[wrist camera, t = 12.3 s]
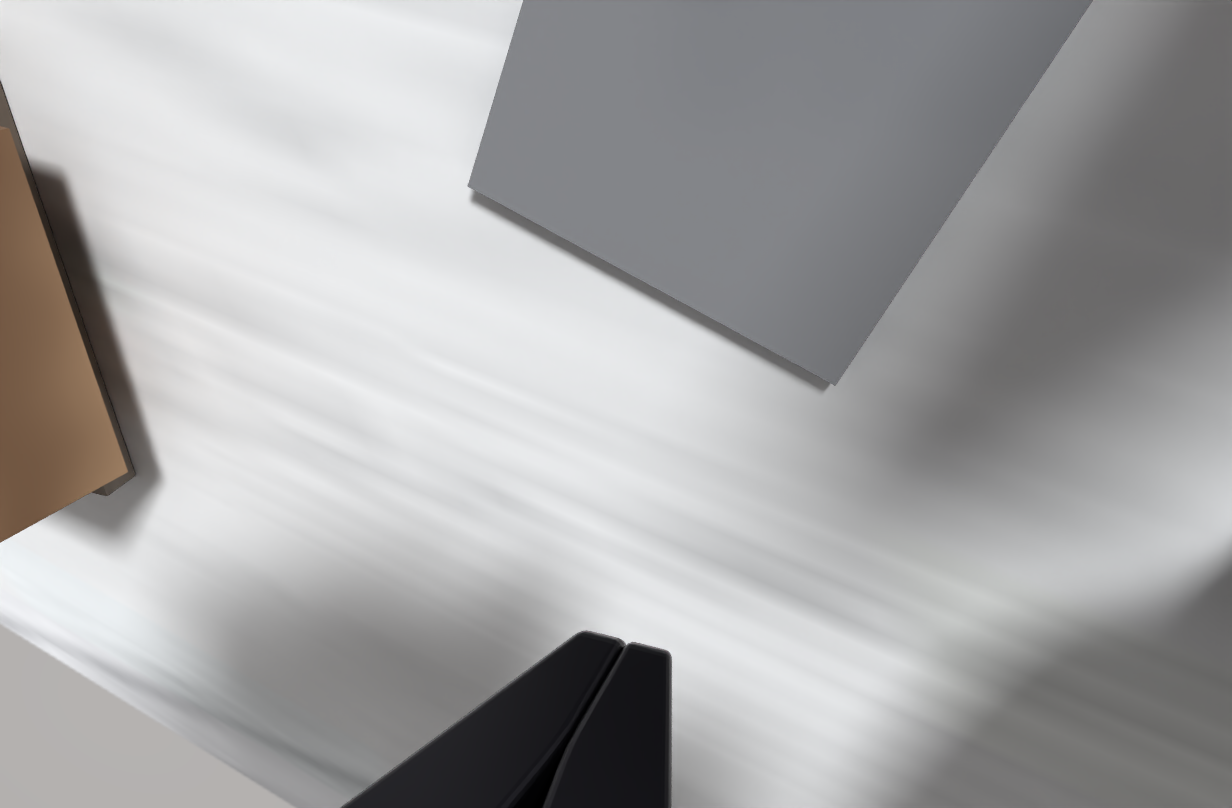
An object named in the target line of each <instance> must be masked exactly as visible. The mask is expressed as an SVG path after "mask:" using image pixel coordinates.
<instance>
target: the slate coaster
mask: <svg viewBox="0 0 1232 808" xmlns="http://www.w3.org/2000/svg"><path fill="white" fill-rule="evenodd" d="M1092 1H1093V0H523V3H522V7H521V10H520V13H519V17H518V20H517V23H516V27H515V30H514V33H513V37H512V40H511V43H510V47H509V50H508V53H507V57H506V60H505V63H504V67H503V70H502V73H501V77H500V80H499V83H498V87H497V90H496V93H495V97H494V100H493V103H492V107H491V110H490V113H489V117H488V120H487V124H486V127H485V130H484V134H483V137H482V140H481V144H480V147H479V150H478V154H477V157H476V160H475V164H474V167H473V170H472V174H471V177H470V180H469V184H468V187H470V188H471V189H473V190H475V191H477V192H479V193H481V194H482V195H484V196H486V197H488V198H490V199H492V200H494V201H495V202H497V203H499V204H501V205H503V206H505V207H506V208H508V209H510V210H512V211H514V212H516V213H518V214H519V215H521V216H523V217H525V218H527V219H529V220H530V221H532V222H534V223H536V224H538V225H540V226H541V227H543V228H545V229H547V230H549V231H551V232H553V233H554V234H556V235H558V236H560V237H562V238H564V239H565V240H567V241H569V242H571V243H573V244H575V245H576V246H578V247H580V248H582V249H584V250H586V251H588V252H589V253H591V254H593V255H595V256H597V257H599V258H600V259H602V260H604V261H606V262H608V263H610V264H612V265H613V266H615V267H617V268H619V269H621V270H623V271H624V272H626V273H628V274H630V275H632V276H634V277H635V278H637V279H639V280H641V281H643V282H645V283H647V284H648V285H650V286H652V287H654V288H656V289H658V290H659V291H661V292H663V293H665V294H667V295H669V296H671V297H672V298H674V299H676V300H678V301H680V302H682V303H683V304H685V305H687V306H689V307H691V308H693V309H694V310H696V311H698V312H700V313H702V314H704V315H706V316H707V317H709V318H711V319H713V320H715V321H717V322H718V323H720V324H722V325H724V326H726V327H728V328H730V329H731V330H733V331H735V332H737V333H739V334H741V335H742V336H744V337H746V338H748V339H750V340H752V341H753V342H755V343H757V344H759V345H761V346H763V347H765V348H766V349H768V350H770V351H772V352H774V353H776V354H777V355H779V356H781V357H783V358H785V359H787V360H789V361H790V362H792V363H794V364H796V365H798V366H800V367H801V368H803V369H805V370H807V371H809V372H811V373H812V374H814V375H816V376H818V377H820V378H822V379H824V380H825V381H827V382H829V383H831V384H833V385H836V384H837V383H838V381H839V380H840V378H841V377H842V375H843V374H844V372H845V371H846V369H847V368H848V366H849V365H850V363H851V362H852V360H853V359H854V357H855V356H856V354H857V353H858V351H859V350H860V348H861V347H862V345H863V344H864V342H865V341H866V339H867V338H868V336H869V335H870V333H871V332H872V330H873V329H874V327H875V326H876V324H877V323H878V321H879V320H880V318H881V317H882V315H883V314H884V312H885V311H886V309H887V308H888V306H889V305H890V303H891V302H892V300H893V299H894V297H895V296H896V294H897V293H898V291H899V290H900V288H901V287H902V285H903V284H904V282H905V281H906V279H907V278H908V276H909V275H910V273H911V272H912V270H913V269H914V267H915V266H916V264H917V263H918V261H919V260H920V258H921V257H922V255H923V254H924V252H925V251H926V249H927V248H928V246H929V245H930V243H931V242H932V240H933V239H934V237H935V236H936V234H937V233H938V231H939V230H940V228H941V227H942V225H943V224H944V222H945V221H946V219H947V218H948V216H949V215H950V213H951V212H952V210H953V209H954V207H955V206H956V204H957V203H958V201H959V200H960V198H961V197H962V195H963V194H964V192H965V191H966V189H967V188H968V186H969V185H970V183H971V182H972V180H973V179H974V177H975V176H976V174H977V173H978V171H979V170H980V168H981V167H982V165H983V164H984V162H985V161H986V159H987V158H988V156H989V155H990V153H991V152H992V150H993V149H994V147H995V146H996V144H997V143H998V141H999V140H1000V138H1001V137H1002V136H1003V134H1004V133H1005V131H1006V130H1007V128H1008V127H1009V125H1010V124H1011V122H1012V121H1013V119H1014V118H1015V116H1016V115H1017V113H1018V112H1019V110H1020V109H1021V107H1022V106H1023V104H1024V103H1025V101H1026V100H1027V98H1028V97H1029V95H1030V94H1031V92H1032V91H1033V89H1034V88H1035V86H1036V85H1037V83H1038V82H1039V80H1040V79H1041V77H1042V76H1043V74H1044V73H1045V71H1046V70H1047V68H1048V67H1049V65H1050V64H1051V62H1052V61H1053V59H1054V58H1055V56H1056V55H1057V53H1058V52H1059V50H1060V49H1061V47H1062V46H1063V44H1064V43H1065V41H1066V40H1067V38H1068V37H1069V35H1070V34H1071V32H1072V31H1073V29H1074V28H1075V26H1076V25H1077V23H1078V22H1079V20H1080V19H1081V17H1082V16H1083V14H1084V13H1085V11H1086V10H1087V8H1088V7H1089V5H1090V4H1091V2H1092Z"/></svg>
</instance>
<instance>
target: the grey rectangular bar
mask: <svg viewBox="0 0 1232 808" xmlns="http://www.w3.org/2000/svg"><path fill="white" fill-rule="evenodd" d="M0 126H1V127H6V128H9V129H10V132H11V135H12V138H13V141H14V144H15V147H16V149H17V152H18V155H19V158H20V161H21V164H22V167H23V170H24V173H25V175H26V178H27V181H28V184H29V187H30V190H31V193H32V196H33V199H34V201H35V204H36V207H37V210H38V213H39V216H40V219H41V222H42V225H43V227H44V230H45V233H46V236H47V239H48V242H49V245H50V248H51V251H52V253H53V256H54V259H55V262H56V265H57V268H58V271H59V274H60V277H61V279H62V282H63V285H64V288H65V291H66V294H67V297H68V300H69V303H70V305H71V308H72V311H73V314H74V317H75V320H76V323H77V326H78V329H79V332H80V334H81V337H82V340H83V343H84V346H85V349H86V352H87V355H88V358H89V360H90V363H91V366H92V369H93V372H94V375H95V378H96V381H97V384H98V386H99V389H100V392H101V395H102V398H103V401H104V404H105V407H106V410H107V412H108V415H109V418H110V421H111V424H112V427H113V430H114V433H115V436H116V438H117V441H118V444H119V447H120V450H121V453H122V456H123V459H124V462H125V464H126V467H127V470H128V472H127V473H125V474H123V475H122V476H120V477H118V478H116V479H114V480H113V481H111V482H109V483H107V484H105V485H104V486H102V487H100V488H98V489H96V490H95V491H93V492H92V493H96V494H100V495H104V496H108V495H110V494H111V493H112V492H114V491H115V490H116V489H118V488H119V487H121V486H122V485H123V484H125V483H126V482H127V481H129V480H130V479H132V478H133V477H134V476H136V475H135V472H134V469H133V466H132V464H131V461H130V458H129V455H128V452H127V449H126V446H125V443H124V440H123V437H122V434H121V432H120V429H119V426H118V423H117V420H116V417H115V414H114V411H113V408H112V405H111V403H110V400H109V397H108V394H107V391H106V388H105V385H104V382H103V379H102V376H101V373H100V371H99V368H98V365H97V362H96V359H95V356H94V353H93V350H92V347H91V344H90V342H89V339H88V336H87V333H86V330H85V327H84V324H83V321H82V318H81V315H80V313H79V310H78V307H77V304H76V301H75V298H74V295H73V292H72V289H71V286H70V283H69V281H68V278H67V275H66V272H65V269H64V266H63V263H62V260H61V257H60V254H59V252H58V249H57V246H56V243H55V240H54V237H53V234H52V231H51V228H50V225H49V223H48V220H47V217H46V214H45V211H44V208H43V205H42V202H41V199H40V196H39V193H38V191H37V188H36V185H35V182H34V179H33V176H32V173H31V170H30V167H29V164H28V162H27V159H26V156H25V153H24V150H23V147H22V144H21V141H20V138H19V135H18V133H17V130H16V127H15V124H14V121H13V118H12V115H11V112H10V109H9V106H8V103H7V101H6V98H5V95H4V92H3V89H2V86H1V83H0Z"/></svg>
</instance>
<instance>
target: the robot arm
mask: <svg viewBox="0 0 1232 808" xmlns="http://www.w3.org/2000/svg"><path fill="white" fill-rule="evenodd" d="M671 790H672V657H671V654H670V653H669V652H668V651H667V650H664V649H660V648H656V647H652V646H648V645H644V644H640V643H636V642H631V643H628V644H627V645H626V644H625V642H624V641H623V640H621V639H619V638H616V637H612V636H608V635H604V634H600V633H596V632H592V631H582V632H579V633H577V634H575V635H574V636H572V637H571V638H570V639H568V640H567V641H566V642H564V643H563V644H562V645H560V646H559V647H558V648H556V649H555V650H553V651H552V652H551V653H549V654H548V655H547V656H545V657H544V658H543V659H541V660H540V661H539V662H537V663H536V664H535V665H533V666H532V667H530V668H529V669H528V670H526V671H525V672H524V673H522V674H521V675H520V676H518V677H517V678H516V679H514V680H513V681H511V682H510V683H509V684H507V685H506V686H505V687H503V688H502V689H501V690H499V691H498V692H497V693H495V694H494V695H492V696H491V697H490V698H488V699H487V700H486V701H484V702H483V703H482V704H480V705H479V706H478V707H476V708H475V709H473V710H472V711H471V712H469V713H468V714H467V715H465V716H464V717H463V718H461V719H460V720H459V721H457V722H456V723H455V724H453V725H452V726H450V727H449V728H448V729H446V730H445V731H444V732H442V733H441V734H440V735H438V736H437V737H436V738H434V739H433V740H431V741H430V742H429V743H427V744H426V745H425V746H423V747H422V748H421V749H419V750H418V751H417V752H415V753H414V754H412V755H411V756H410V757H408V758H407V759H406V760H404V761H403V762H402V763H400V764H399V765H398V766H396V767H395V768H394V769H392V770H391V771H389V772H388V773H387V774H385V775H384V776H383V777H381V778H380V779H379V780H377V781H376V782H375V783H373V784H372V785H370V786H369V787H368V788H366V789H365V790H364V791H362V792H361V793H360V794H358V795H357V796H356V797H354V798H353V799H351V800H350V801H349V802H347V803H346V804H345V805H343V806H342V807H341V808H671Z"/></svg>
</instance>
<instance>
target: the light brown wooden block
mask: <svg viewBox="0 0 1232 808" xmlns="http://www.w3.org/2000/svg"><path fill="white" fill-rule="evenodd" d="M127 472H128V470H127V467H126V464H125V462H124V459H123V456H122V453H121V450H120V447H119V444H118V441H117V438H116V436H115V433H114V430H113V427H112V424H111V421H110V418H109V415H108V412H107V410H106V407H105V404H104V401H103V398H102V395H101V392H100V389H99V386H98V384H97V381H96V378H95V375H94V372H93V369H92V366H91V363H90V360H89V358H88V355H87V352H86V349H85V346H84V343H83V340H82V337H81V334H80V332H79V329H78V326H77V323H76V320H75V317H74V314H73V311H72V308H71V305H70V303H69V300H68V297H67V294H66V291H65V288H64V285H63V282H62V279H61V277H60V274H59V271H58V268H57V265H56V262H55V259H54V256H53V253H52V251H51V248H50V245H49V242H48V239H47V236H46V233H45V230H44V227H43V225H42V222H41V219H40V216H39V213H38V210H37V207H36V204H35V201H34V199H33V196H32V193H31V190H30V187H29V184H28V181H27V178H26V175H25V173H24V170H23V167H22V164H21V161H20V158H19V155H18V152H17V149H16V147H15V144H14V141H13V138H12V135H11V132H10V129H9V128H6V127H1V126H0V543H1V542H2V541H4V540H6V539H8V538H10V537H11V536H13V535H15V534H17V533H19V532H20V531H22V530H24V529H26V528H28V527H29V526H31V525H33V524H35V523H37V522H38V521H40V520H42V519H44V518H46V517H48V516H49V515H51V514H53V513H55V512H57V511H58V510H60V509H62V508H64V507H66V506H67V505H69V504H71V503H73V502H75V501H76V500H78V499H80V498H82V497H84V496H85V495H87V494H89V493H91V492H93V491H95V490H96V489H98V488H100V487H102V486H104V485H105V484H107V483H109V482H111V481H113V480H114V479H116V478H118V477H120V476H122V475H123V474H125V473H127Z"/></svg>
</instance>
